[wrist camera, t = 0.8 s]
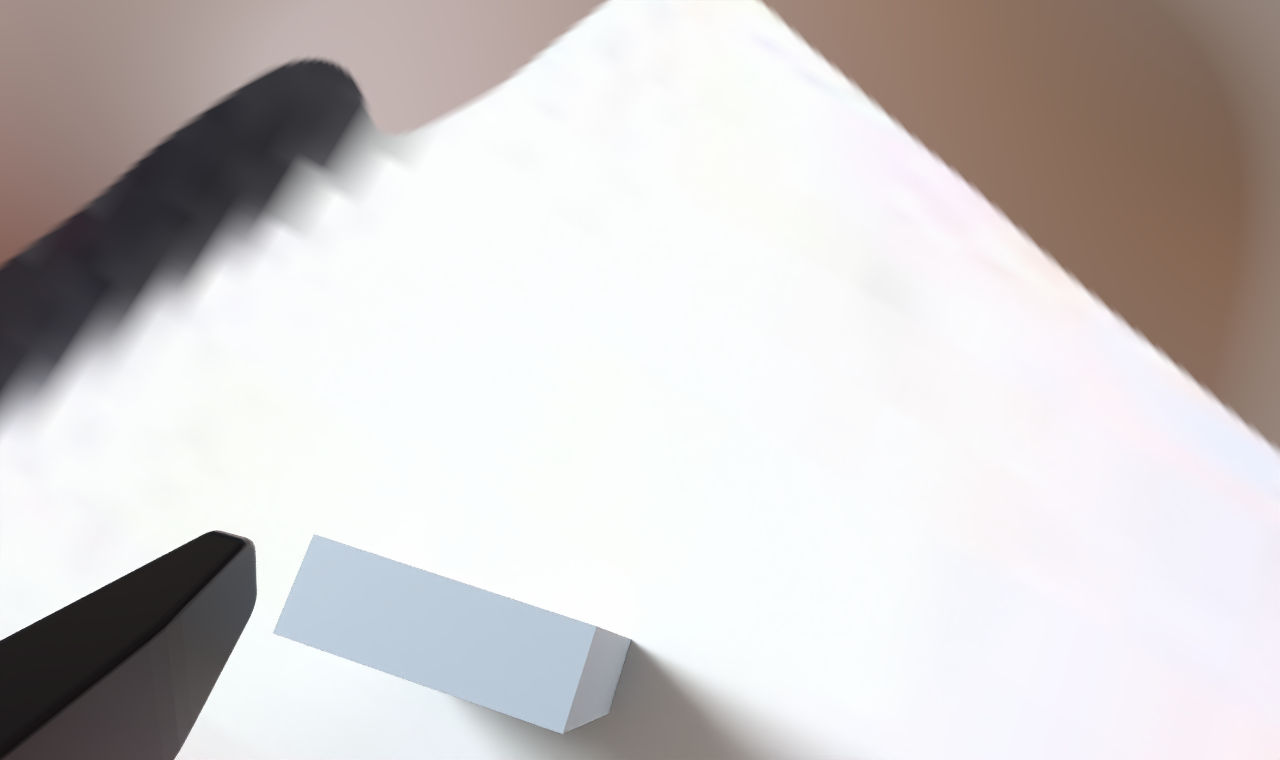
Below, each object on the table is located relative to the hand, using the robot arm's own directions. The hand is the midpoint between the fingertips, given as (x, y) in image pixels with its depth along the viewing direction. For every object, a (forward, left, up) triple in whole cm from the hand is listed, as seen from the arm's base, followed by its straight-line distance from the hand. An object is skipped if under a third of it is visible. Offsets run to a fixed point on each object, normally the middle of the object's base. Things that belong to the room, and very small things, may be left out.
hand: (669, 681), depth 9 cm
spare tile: (-1, +5, -16) cm, 17 cm away
